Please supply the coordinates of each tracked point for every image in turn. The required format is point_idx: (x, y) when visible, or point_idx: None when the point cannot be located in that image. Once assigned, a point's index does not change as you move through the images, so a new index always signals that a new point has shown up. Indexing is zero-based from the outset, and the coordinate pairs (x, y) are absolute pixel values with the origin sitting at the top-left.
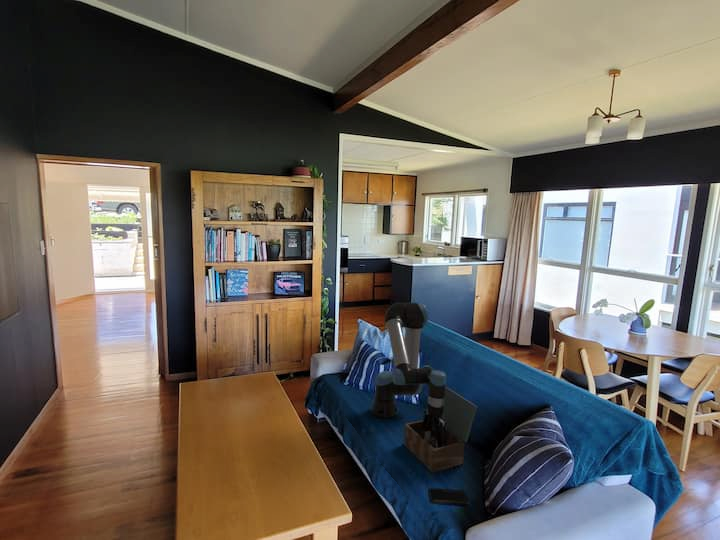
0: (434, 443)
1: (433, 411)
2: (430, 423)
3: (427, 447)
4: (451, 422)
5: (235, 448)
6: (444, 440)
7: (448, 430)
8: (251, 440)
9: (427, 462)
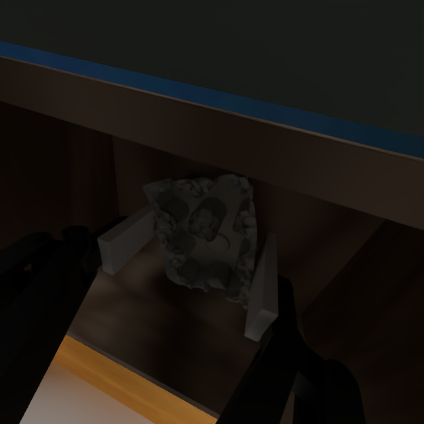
0: (201, 228)
1: None
2: (18, 391)
3: None
4: None
5: (79, 365)
6: (343, 407)
7: (207, 120)
8: (66, 351)
9: None
